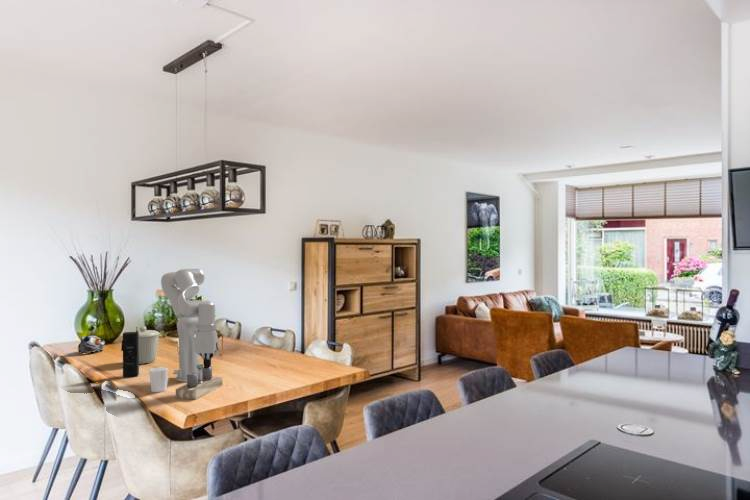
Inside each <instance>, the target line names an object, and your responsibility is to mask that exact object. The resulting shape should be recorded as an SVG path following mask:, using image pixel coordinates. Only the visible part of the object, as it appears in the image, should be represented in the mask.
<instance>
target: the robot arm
mask: <svg viewBox="0 0 750 500" xmlns="http://www.w3.org/2000/svg"><path fill="white" fill-rule="evenodd" d="M205 280H206V279H205V274H204V272H203V270H202V269H200V268H182V269H179V270H177V271H172V272H167V273H165V274H163V275H162V276H161V279H160V284H161V290H162V292H163V294H164V296H166V298H167V299H168V301H169V302H170V304H171V308H172V311H173V313H174V315H175V317H176V318H177V322H176V328H177V329H176V330H177V335H178V336H177V337H178V352H179V353H178V358H179V359H178V361H179V362H178V365H179V369H174V370H173V372H172V374H173V375H177V376H176V377H175V379H176V381H177V382H181V383H182V382H184V383H185V382H186V383H187V374H191V373H197V374H198V368H197V365H200V357H201V359H202V360H203V367H204V368H209V367H212V359H213V357H214V356H218V355H219V337H218V333H217V331H216V306H215V305H216V304H215V303H214V302H211V301H210V300H201V299H198V300H197V299H193V298H194V297H196V296H197V295H198V294H199V291H200V285H202V284H204V283H205ZM190 299H193V300H190Z"/></svg>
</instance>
